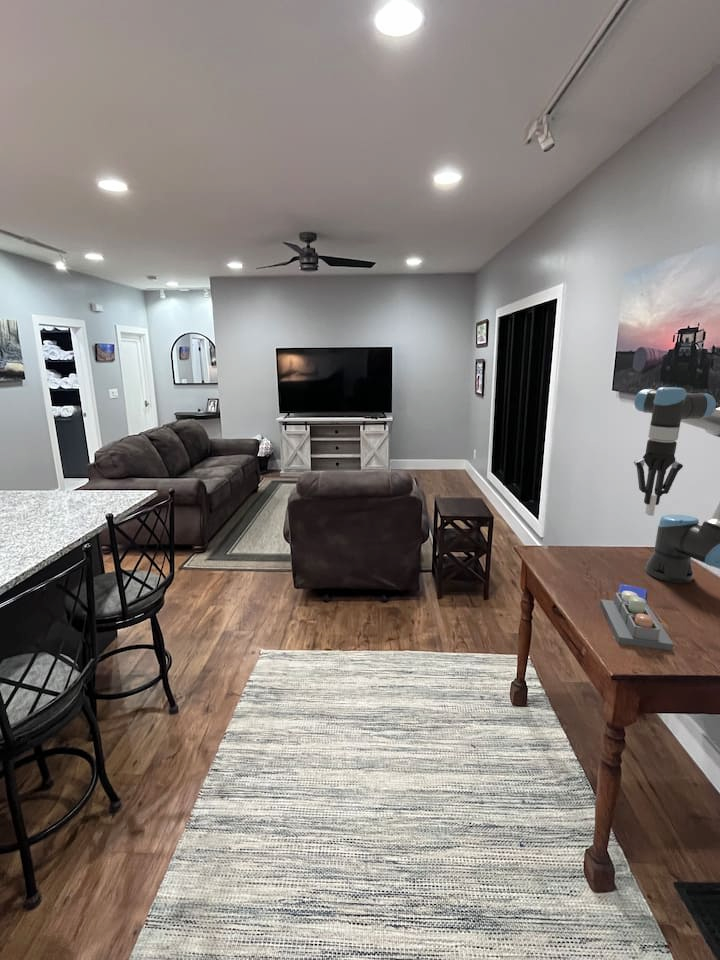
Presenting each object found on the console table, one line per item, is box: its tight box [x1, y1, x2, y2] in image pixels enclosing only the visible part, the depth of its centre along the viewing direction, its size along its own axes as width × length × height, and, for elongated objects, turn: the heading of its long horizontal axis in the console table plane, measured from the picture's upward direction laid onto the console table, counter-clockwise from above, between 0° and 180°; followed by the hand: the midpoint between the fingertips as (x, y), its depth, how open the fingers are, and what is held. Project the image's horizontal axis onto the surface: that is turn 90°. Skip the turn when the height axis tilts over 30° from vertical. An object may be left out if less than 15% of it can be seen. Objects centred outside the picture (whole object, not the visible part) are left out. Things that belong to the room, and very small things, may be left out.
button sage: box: [628, 596, 647, 614], centre depth 144 cm, size 4×4×4 cm
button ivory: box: [621, 591, 638, 602], centre depth 152 cm, size 4×4×4 cm
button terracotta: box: [635, 614, 653, 628], centre depth 138 cm, size 4×4×4 cm
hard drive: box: [618, 583, 648, 601], centre depth 164 cm, size 2×8×12 cm
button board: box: [599, 591, 674, 651], centre depth 146 cm, size 14×22×6 cm, turn 167°
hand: (649, 514), depth 149 cm, fingers closed
